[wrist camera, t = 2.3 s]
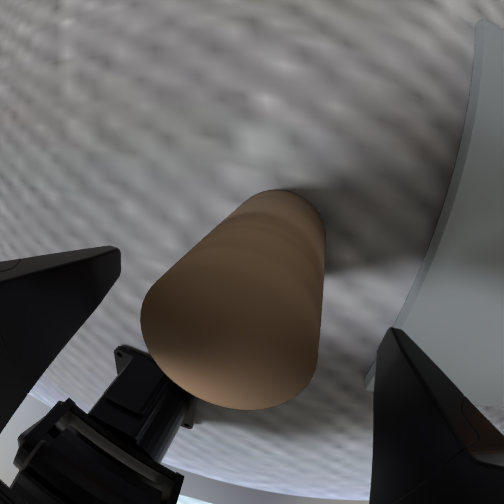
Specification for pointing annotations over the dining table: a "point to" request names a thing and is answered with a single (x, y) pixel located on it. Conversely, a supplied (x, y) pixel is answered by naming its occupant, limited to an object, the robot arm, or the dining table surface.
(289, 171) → the dining table surface
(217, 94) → the dining table surface
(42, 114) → the dining table surface
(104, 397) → the robot arm
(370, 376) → the slate board
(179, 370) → the walnut cylinder
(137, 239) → the dining table surface
